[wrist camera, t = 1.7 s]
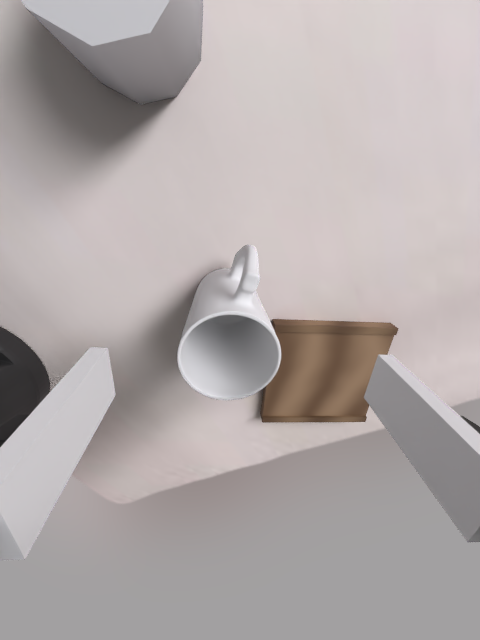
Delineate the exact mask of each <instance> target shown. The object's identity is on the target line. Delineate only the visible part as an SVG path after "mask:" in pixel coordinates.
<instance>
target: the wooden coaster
mask: <svg viewBox="0 0 480 640" xmlns="http://www.w3.org/2000/svg"><path fill="white" fill-rule="evenodd" d="M272 326H273V329H274V331H275V334H276V336H277V338H278V340H279V343H280V347H281V361H280V365H279V368H278V371H277V373H276V375H275V376H274V378H273V379H272V380H271V381H270V383H269V384H268V385H267V386H265V387H264V391H263V399H262V406H261V419H262V422H365V421H366V418H367V417H366V413H367V410H368V407H369V404H368V403H367V401H366V400H365V398H364V395H365V392H366V389H367V386H368V383H369V380H370V378H371V375H372V372H373V369H374V366H375V363H376V360H377V357H378V355H387V354H388V351H389V348H390V345H391V342H392V340H393V337H394V335H396V334H397V331H398V328H397V327H395V326H394V325H393V324H391V323H376V322H344V321H313V320H282V319H273V322H272Z"/></svg>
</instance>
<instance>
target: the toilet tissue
mask: <svg viewBox="0 0 480 640" xmlns="http://www.w3.org/2000/svg"><path fill="white" fill-rule="evenodd" d="M21 1H22V3H23V4H24V6H25V7H26V9H27V10H28V11H29V12H30V13H32V14H33V15H34V16H35V17H36V18H37V19H38V20H39V21H40V22H41V23H42V24H43V25H44V26H45V27H46V28H47V29H48V30H49V31H50V32H51V33H52V34H53V35H54V36H55V37H56V38H57V39H58V40H59V41H60V42H61V43H62V44H63V45H64V46H65V47H66V48H67V49H68V50H69V51H70V52H71V53H72V54H73V55H74V56H75V57H76V58H77V59H78V60H79V61H80V62H81V63H82V64H83V65H84V66H85V67H86V68H87V69H88V70H89V71H90V72H91V73H92V74H93V75H94V76H95V77H96V78H97V79H98V80H99V81H100V82H101V83H102V84H104V85H106V86H108V87H109V88H111V89H113V90H115V91H117V92H119V93H120V94H122V95H124V96H126V97H128V98H129V99H131V100H133V101H135V102H137V103H139V104H140V105H141V104H146V103H150V102H154V101H159V100H163V99H168V98H172V97H176V96H178V94H179V93H180V91H181V90H182V88H183V87H184V85H185V84H186V82H187V81H188V79H189V78H190V76H191V75H192V73H193V72H194V70H195V69H196V67H197V66H198V64H199V63H200V61H201V45H202V21H203V0H21Z"/></svg>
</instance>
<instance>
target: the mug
mask: <svg viewBox="0 0 480 640" xmlns="http://www.w3.org/2000/svg"><path fill="white" fill-rule="evenodd" d="M259 281H260V275H259V261H258V253H257V249H256V248H255V247H254V246H253V245H245V246H244V247H242V248H241V249H240V250H239V251H238V252H237V253H236V255H235V257H234V260H233V264H232V267H231V269H218V270H215V271H213V272H211V273H209V274H208V275H206V276H205V277H204V278H203V279H202V281H201V282H200V284H199V286H198V288H197V291H196V294H195V296H194V300H193V303H192V306H191V309H190V312H189V315H188V318H187V321H186V324H185V327H184V330H183V333H182V336H181V340H180V344H179V347H178V352H177V362H178V367H179V370H180V373H181V375H182V377H183V378H184V380H185V381H186V382H187V383H188V385H189V386H190V387H192V388H193V389H194V390H195V391H197V392H199V393H200V394H202V395H204V396H207V397H209V398H213V399H217V400H237V399H242V398H245V397H248V396H251V395H253V394H255V393H257V392H259V391H260V390H262V389H263V388H264V387H265V386H267V385H268V384H269V383H270V381H271V380H272V379H273V378H274V376H275V375H276V373H277V371H278V368H279V365H280V361H281V347H280V343H279V340H278V338H277V336H276V334H275V331H274V329H273V326H272V324H271V322H270V320H269V318H268V316H267V314H266V311H265V309H264V307H263V305H262V303H261V301H260V299H259V297H258V294H257V292H256V288H257V286H258V283H259Z"/></svg>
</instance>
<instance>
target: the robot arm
mask: <svg viewBox="0 0 480 640" xmlns="http://www.w3.org/2000/svg"><path fill="white" fill-rule="evenodd" d="M49 391H50V384H49V378H48V375H47V372H46V370H45V367H44V366H43V364H42V362H41V361H40V359H39V358H38V356H37V355H36V354H35V353H34V352H33V351H32V350H31V348H30V347H28V346H27V345H26V344H25V343H24V342H23V341H22V340H20V339H19V338H18V337H16V336H15V335H13V334H12V333H10V332H9V331H7V330H5V329H3V328H1V327H0V560H20V559H25V558H26V557H27V555H28V553H29V551H30V549H31V548H32V546H33V544H34V542H35V540H36V538H37V537H38V535H39V533H40V531H41V529H42V528H43V526H44V524H45V522H46V520H47V519H48V517H49V515H50V513H51V511H52V509H53V508H54V506H55V504H56V502H57V500H58V499H59V497H60V495H61V493H62V491H63V490H64V488H65V486H66V484H67V482H68V480H69V479H70V477H71V475H72V473H73V471H74V470H75V468H76V466H77V464H78V462H79V460H80V459H81V457H82V455H83V453H84V451H85V450H86V448H87V446H88V444H89V442H90V441H91V439H92V437H93V435H94V433H95V431H96V430H97V428H98V426H99V424H100V422H101V421H102V419H103V417H104V415H105V413H106V411H107V410H108V408H109V406H110V404H111V402H112V401H113V399H114V397H115V395H116V393H115V387H114V381H113V375H112V370H111V364H110V358H109V352H108V348H100V347H90V348H89V350H88V351H87V352H86V353H85V354H84V355H83V356H82V357H81V358H80V359H79V361H78V362H77V363H76V364H75V365H74V366H73V367H72V368H71V369H70V371H69V372H68V373H67V374H66V375H65V376H64V377H63V378H62V379H61V381H60V382H59V383H58V384H57V385H56V386H55V387H54V388H53V389H52V391H51V392H50V393H49ZM364 398H365V400H366V401H367V403H368V404H369V405H370V407H371V408H372V410H373V411H374V412H375V414H376V415H377V417H378V418H379V419H380V421H381V422H382V424H383V425H384V426H385V428H386V429H387V431H388V432H389V433H390V435H391V436H392V438H393V439H394V440H395V442H396V443H397V444H398V446H399V447H400V449H401V450H402V451H403V453H404V454H405V455H406V457H407V458H408V460H409V461H410V463H411V464H412V465H413V467H414V468H415V469H416V471H417V472H418V474H419V475H420V477H421V478H422V479H423V481H424V482H425V483H426V485H427V486H428V488H429V489H430V491H431V492H432V493H433V495H434V496H435V498H436V499H437V500H438V502H439V503H440V504H441V506H442V507H443V509H444V510H445V511H446V513H447V514H448V516H449V517H450V518H451V520H452V521H453V523H454V524H455V525H456V527H457V528H458V530H459V531H460V532H461V534H462V535H463V536H464V538H465V539H466V541H467V542H480V427H479V426H478V425H476V424H474V423H473V422H471V421H469V420H468V419H466V418H465V417H463V416H459V415H458V414H457V413H456V412H455V411H454V410H453V409H452V408H451V407H449V406H448V405H447V404H446V403H445V402H444V401H443V400H442V399H441V398H440V397H438V396H437V395H436V394H435V393H434V392H433V391H432V390H431V389H430V388H429V387H427V386H426V385H425V384H424V383H423V382H422V381H421V380H420V379H419V378H418V377H416V376H415V375H414V374H413V373H412V372H411V371H410V370H409V369H408V368H407V367H405V366H404V365H403V364H402V363H401V362H400V361H399V360H398V359H397V358H396V357H394V356H393V355H378V357H377V360H376V363H375V366H374V369H373V372H372V375H371V378H370V380H369V383H368V386H367V389H366V392H365V395H364Z"/></svg>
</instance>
